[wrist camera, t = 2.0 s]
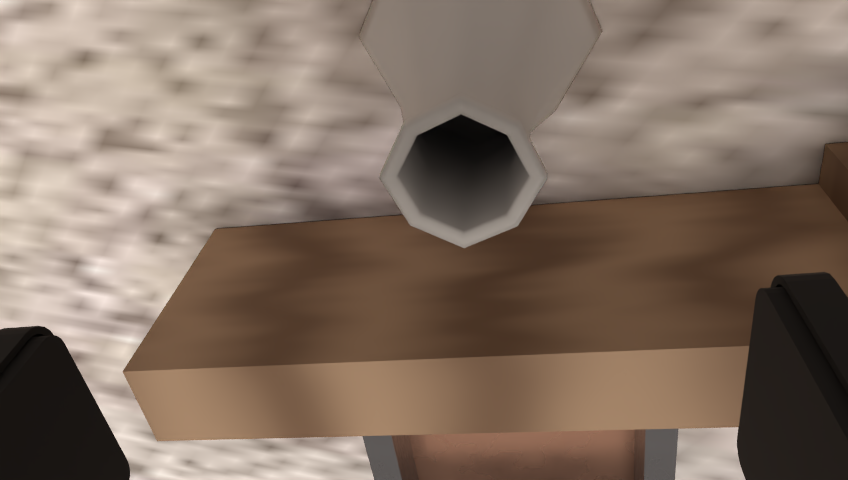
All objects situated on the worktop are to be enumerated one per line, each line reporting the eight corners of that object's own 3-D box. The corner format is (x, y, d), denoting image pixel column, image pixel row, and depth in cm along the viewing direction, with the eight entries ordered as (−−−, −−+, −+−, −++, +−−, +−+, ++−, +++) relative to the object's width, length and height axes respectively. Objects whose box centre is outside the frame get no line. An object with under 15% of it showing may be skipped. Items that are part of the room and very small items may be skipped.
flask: (321, 34, 23) (217, 178, 15) (476, -152, 20) (454, -102, 11) (479, 173, 25) (466, 367, 17) (643, 27, 22) (727, 178, 14)
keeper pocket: (667, 291, 27) (683, 343, 25) (657, 499, 34) (669, 556, 31) (355, 308, 29) (341, 358, 27) (403, 501, 36) (395, 555, 33)
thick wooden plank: (925, 135, 23) (1250, 412, 13) (887, 284, 26) (1124, 599, 16) (203, 195, 27) (23, 442, 17) (246, 318, 30) (116, 587, 20)
